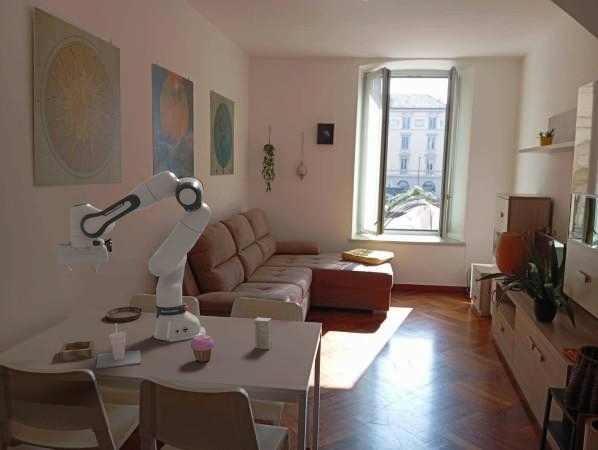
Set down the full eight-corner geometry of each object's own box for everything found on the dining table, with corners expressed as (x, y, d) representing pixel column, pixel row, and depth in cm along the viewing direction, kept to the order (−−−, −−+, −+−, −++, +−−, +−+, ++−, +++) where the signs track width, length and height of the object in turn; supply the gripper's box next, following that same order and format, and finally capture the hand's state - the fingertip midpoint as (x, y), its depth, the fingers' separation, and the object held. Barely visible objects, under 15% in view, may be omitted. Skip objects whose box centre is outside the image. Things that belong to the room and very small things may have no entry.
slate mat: (140, 351, 214) (140, 350, 214) (140, 364, 200) (140, 362, 200) (98, 355, 209) (98, 354, 209) (96, 368, 196) (95, 367, 196)
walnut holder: (94, 348, 217) (93, 339, 217) (91, 357, 207) (91, 349, 206) (64, 350, 214) (63, 342, 214) (60, 361, 203) (59, 352, 203)
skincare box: (272, 346, 220) (272, 318, 218) (268, 349, 216) (268, 321, 214) (258, 344, 222) (257, 316, 220) (254, 348, 217) (254, 319, 216)
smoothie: (115, 354, 208) (114, 320, 207) (130, 355, 207) (129, 321, 205) (106, 360, 202) (105, 325, 200) (122, 361, 201) (120, 326, 199)
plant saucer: (122, 325, 249) (122, 318, 248) (97, 319, 258) (97, 313, 258) (150, 315, 264) (150, 310, 263) (126, 310, 273) (126, 304, 273)
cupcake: (218, 360, 204) (217, 335, 203) (199, 366, 198) (198, 340, 197) (205, 354, 210) (205, 330, 209) (186, 359, 205) (186, 335, 203)
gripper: (54, 243, 217) (56, 276, 218) (107, 241, 223) (108, 273, 224) (56, 241, 223) (58, 273, 224) (107, 239, 229) (109, 270, 230)
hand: (83, 273), depth 225 cm, fingers open, 8 cm apart
